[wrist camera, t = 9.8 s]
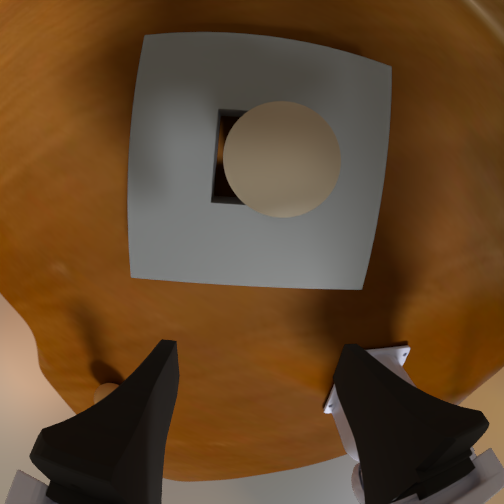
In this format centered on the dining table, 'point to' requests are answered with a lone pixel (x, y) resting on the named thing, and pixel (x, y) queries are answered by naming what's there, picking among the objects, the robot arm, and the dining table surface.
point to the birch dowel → (282, 159)
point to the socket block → (205, 158)
